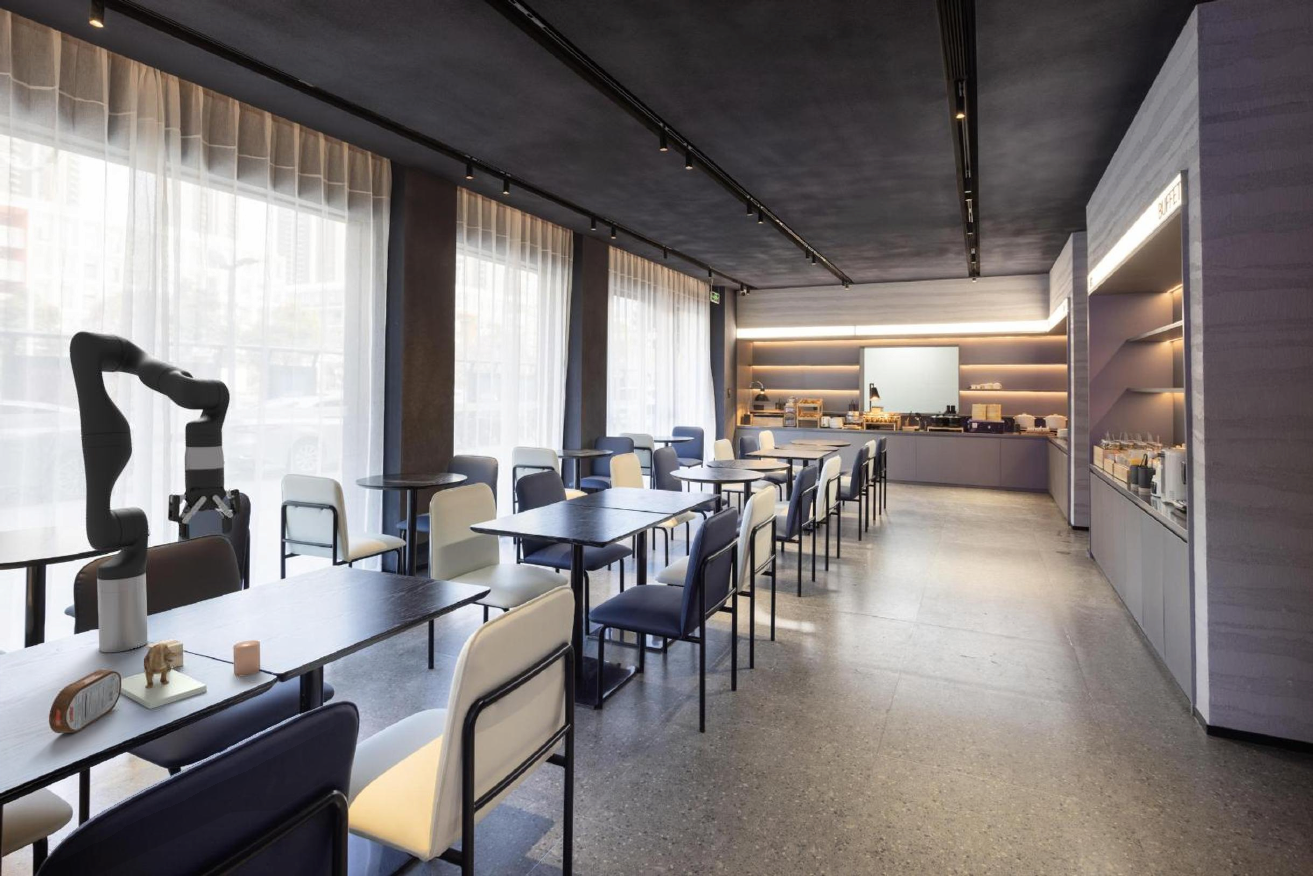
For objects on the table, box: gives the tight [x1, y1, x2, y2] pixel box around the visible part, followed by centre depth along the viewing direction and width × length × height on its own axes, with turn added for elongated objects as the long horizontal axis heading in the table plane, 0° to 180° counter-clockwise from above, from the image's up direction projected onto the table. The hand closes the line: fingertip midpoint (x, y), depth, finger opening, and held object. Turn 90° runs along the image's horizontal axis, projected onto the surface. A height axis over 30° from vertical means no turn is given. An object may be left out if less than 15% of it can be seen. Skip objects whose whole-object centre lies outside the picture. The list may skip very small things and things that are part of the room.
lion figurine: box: [143, 643, 177, 689], centre depth 143 cm, size 15×5×9 cm, turn 40°
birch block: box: [146, 638, 184, 669], centre depth 154 cm, size 5×5×5 cm
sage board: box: [121, 668, 208, 710], centre depth 141 cm, size 18×10×1 cm, turn 57°
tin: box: [48, 668, 122, 734], centre depth 127 cm, size 15×3×8 cm, turn 5°
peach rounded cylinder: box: [232, 640, 261, 676], centre depth 151 cm, size 5×5×6 cm
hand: (206, 536), depth 158 cm, fingers open, 8 cm apart
